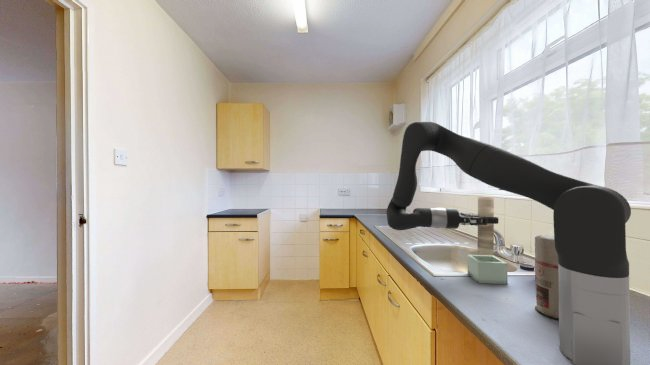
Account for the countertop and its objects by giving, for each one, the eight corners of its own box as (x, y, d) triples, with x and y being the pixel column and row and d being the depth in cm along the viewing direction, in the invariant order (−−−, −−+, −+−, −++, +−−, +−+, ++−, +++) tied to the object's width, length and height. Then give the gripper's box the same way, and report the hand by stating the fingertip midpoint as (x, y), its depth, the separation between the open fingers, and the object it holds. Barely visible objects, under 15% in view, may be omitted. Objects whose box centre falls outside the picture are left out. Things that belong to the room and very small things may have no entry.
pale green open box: (507, 284, 82) (507, 263, 82) (478, 282, 84) (478, 262, 84) (493, 274, 91) (493, 255, 91) (467, 273, 93) (467, 254, 93)
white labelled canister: (531, 303, 69) (531, 232, 70) (571, 310, 65) (571, 235, 65) (538, 317, 62) (538, 237, 62) (584, 326, 58) (583, 241, 58)
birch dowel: (492, 255, 84) (493, 197, 84) (476, 252, 87) (476, 196, 87) (494, 252, 88) (494, 196, 88) (478, 250, 91) (479, 196, 91)
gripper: (449, 209, 83) (505, 211, 80) (437, 206, 97) (484, 206, 94) (449, 232, 83) (505, 234, 80) (437, 224, 97) (484, 226, 94)
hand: (493, 219), depth 87 cm, fingers closed on birch dowel, 4 cm apart
